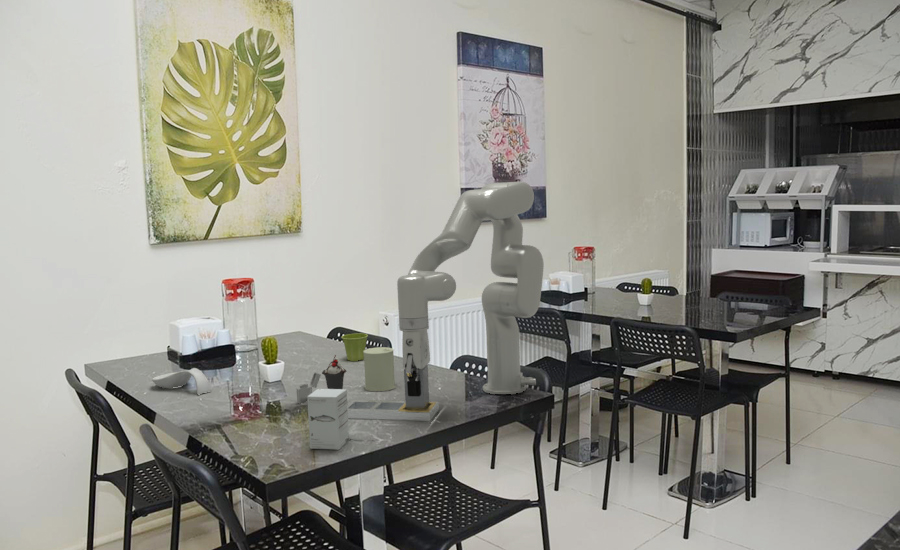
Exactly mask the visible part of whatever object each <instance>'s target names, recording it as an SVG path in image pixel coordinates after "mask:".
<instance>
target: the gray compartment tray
mask: <svg viewBox="0 0 900 550" xmlns="http://www.w3.org/2000/svg"><path fill="white" fill-rule="evenodd" d="M347 408H348V420H349V419H352V420H356V419H357V420H385V421H386V420H388V421H389V420H390V421H392V420H394V421H417V422H418V421H419V422H421V421H422V422H423V421H424V422H425V421H426V422H430V423H429V424H430V425H432V423H431V422H432V421H434V420H435V419H436V418H437V416H438V415H439V414H440V412H439V410H440V402H439V401H429V404H428V405H427V406H426V407H425V408H406V403H405V400H384V399H383V400H379V399H377V400H376V399H372V400H371V399H351V400H350V401H349V402H347ZM437 412H438V413H437ZM435 417H436V418H435Z"/></svg>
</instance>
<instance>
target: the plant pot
mask: <svg viewBox="0 0 900 550" xmlns="http://www.w3.org/2000/svg"><path fill="white" fill-rule="evenodd" d="M368 337H369V335H368V334H367V333H361V332H359V333H358V332H356V333H349V334H348V333H347V334H344V335H342V336H341V337H340V338H341V339H342V342H343V344H344V349H345V354H346V359H347V361H350V362H358V360H359V361H364V353H363V351H364V350H366V345H367V340H368Z"/></svg>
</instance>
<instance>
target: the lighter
mask: <svg viewBox="0 0 900 550" xmlns="http://www.w3.org/2000/svg"><path fill="white" fill-rule="evenodd" d="M321 376H322V373H320V372H319V373H318V372H315V371H314V372H313V376H312V379H311V380H310V383H309V384H308V383H306V382H305V383H301V384H300V385H299V387H296V399H297V400H296V401H297V404H298V403H299V404H298V405H302V404H301V403H303V404H305V403H306V402H308V400H307V396H309V395H310V394H311V393H313V388H315V389H316V388H317V387H318V384H319V381H320V378H321Z"/></svg>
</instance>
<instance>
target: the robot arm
mask: <svg viewBox="0 0 900 550" xmlns="http://www.w3.org/2000/svg"><path fill="white" fill-rule="evenodd" d="M534 199H535V194H534V190H533V188H532V186H531V185H530V184H528V183H527V182H524V181H508V182H507V181H506V182H504V181H503V182H491V183H488V184H485V185H484V186H482V187H481V188H479V189H469V190H466V191H464V192H463V193H462V194H460V196H459V198H458V200H457V201H456V204H455V206H454V208H453V210H452V212H451V214H450V216H449V218H448V220H447V223H446V224H445V226H444V228H443V230H442V232H441V233H440V234H439V235H438V236H437V237H436V238H434V239H433V240H432V241H431V242H430V243H428V245H427V246H425V248H423V249H422V250H421V251H420V252H419V253H418V255H416V257H415V259H414V261H413V263H412V265H411V268H410V269H409V271H408V273H407V274H405V275H402V276H400V277H398V279H397V281H396V282H397V284H396V285H397V287H396V289H397V307H398V325H399V328H398V329H399V331H401V332H402V339H401V341H402V367H403V368H404V369H406V374H407V387H408V396H420V395H421V394H420V381H418V380H419V369H420V370H422V369H423V368H424V367H425V366H426V365H428V364H430V361H431V353H430V352H431V351H430V344H429V335H428V334H429V333H428V330H429V327H430V325H429V304H428V303H429V302H443V301H447V300H449V299H450V298H452V297H453V295H454V294H455V292H456V290H457V282H456V280H455V279H454V277H453V276H452V275H451V274H449V273H447V272H443V271H436V269H438V268H439V267H440V266H441V265H442V264H443V263H444V262H446V261H447V260H449V259H451V258H453V257H455V256H458V255H461V254H462V253H464V252H466V251H468V250H469V249H470V248H471V247H472V244H473V242H474V239H475V237H476V235H477V233H478V232H479V229H480V227H481V225H482V223H483V222H484V221H491V223H492V227H493V229H492V230H493V237H492V243H491V244H492V245H491V254H490V255H491V257H490V269H491V272H492V274H494V275H495V276H496V277H500V278H504V279H505V278H509V279H516V281H517V282H506V281H496V282H491V283H489V284H487V285H486V286H485V287H484V289H483V290H482V293H481V305H482V309H483V313H484V318H485V331H486V355H487V356H486V359H487V383H484V385H482V390H483V392H484V393H487V394H489V393H490V394H491V395H495V394H511V395H517V394H516V393H518V394H522V393H523V391H524V392H525V391H526V390H527V385H529V386H536V385H537V380H536V379H537V378H535V377H533V376H532V377H531V376H528V377H526V376H524V374H523V372H521V352H520V351H521V348H520V347H521V346H520V327H519V324H518V322H517V319H516V318H523V319H527V318H532V317H533V316H534V315H536V313H537V312H538V310H539V307H540V304H541V297H542V288H543V287H542V286H543V278H544V269H545V268H544V267H545V266H544V258H543V255H542V252H541V251H540V249H538V248H537V247H536V246H533V245H527V244H524V245H523V237H524V236H523V235H524V230H523V224H522V221H521V219H520V217H519V215H520V214H524V213H525V212H528V211H529V210H530V209H531V207H532V206H533V204H534V201H535V200H534ZM413 366H416V369H412V367H413ZM413 371H416V375H415V373H414V372H413Z"/></svg>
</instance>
